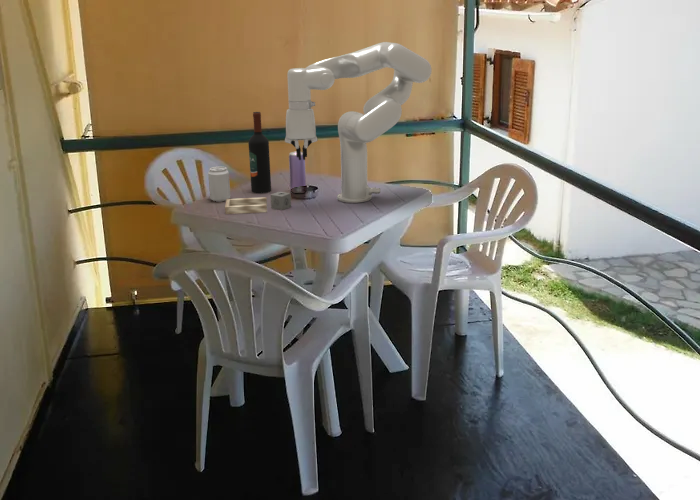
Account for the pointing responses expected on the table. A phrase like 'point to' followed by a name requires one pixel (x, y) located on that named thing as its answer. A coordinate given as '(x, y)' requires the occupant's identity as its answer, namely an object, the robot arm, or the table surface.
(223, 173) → the can
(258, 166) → the wine bottle
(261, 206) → the bay
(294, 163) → the beverage can
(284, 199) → the dice cube
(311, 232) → the table surface
